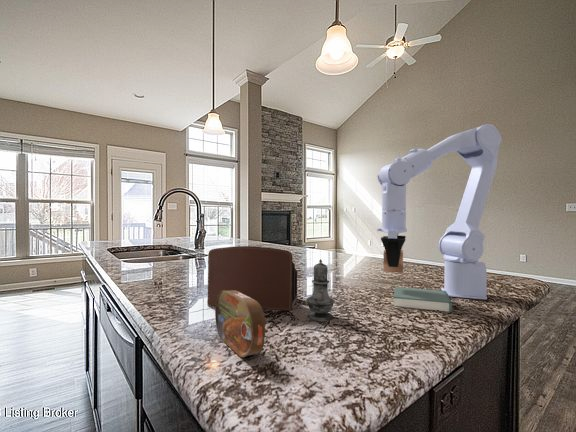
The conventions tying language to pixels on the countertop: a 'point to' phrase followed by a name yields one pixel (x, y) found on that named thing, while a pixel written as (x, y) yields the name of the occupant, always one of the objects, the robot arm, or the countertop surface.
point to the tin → (240, 322)
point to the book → (422, 299)
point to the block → (393, 269)
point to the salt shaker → (320, 295)
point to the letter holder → (253, 275)
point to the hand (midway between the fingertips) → (393, 265)
